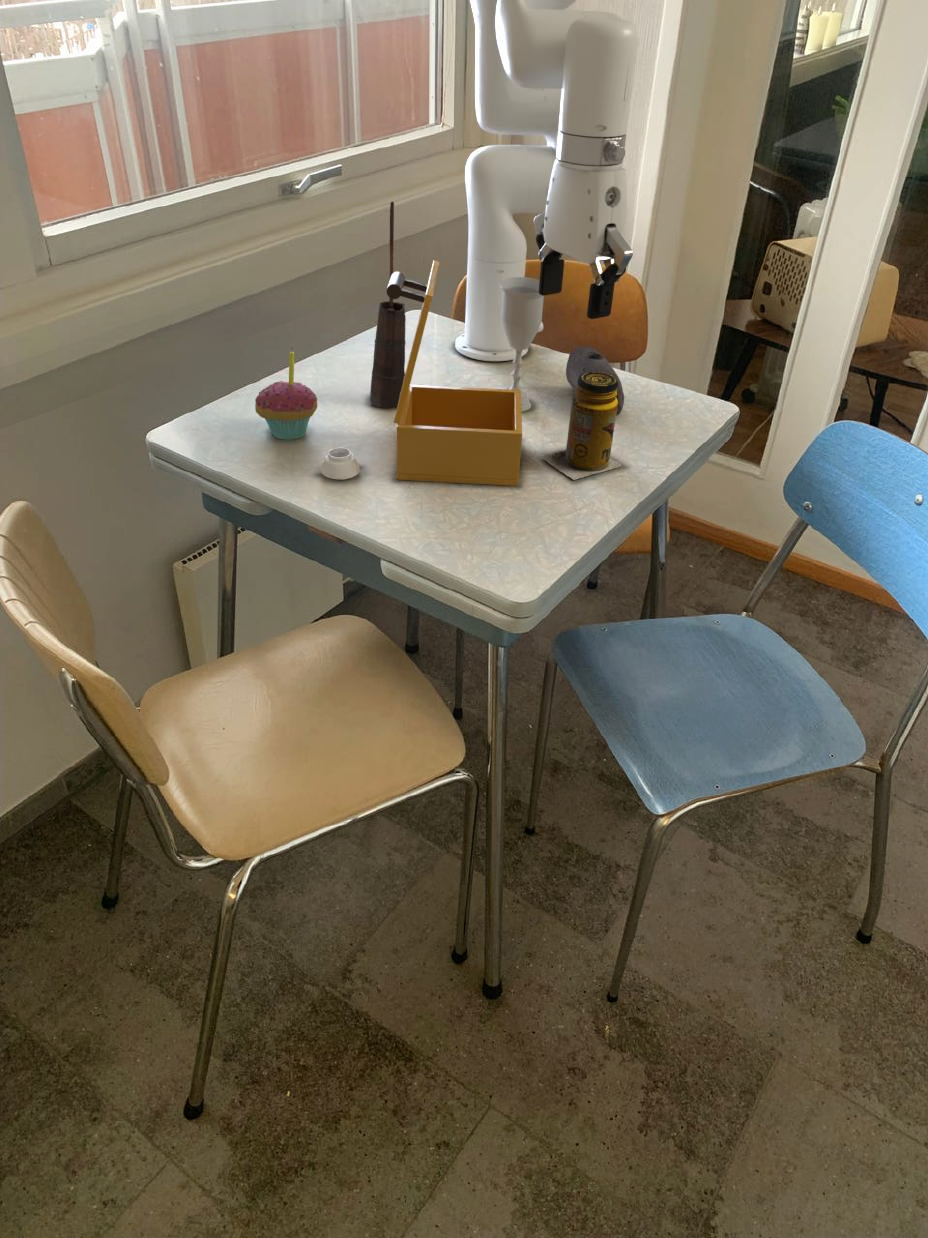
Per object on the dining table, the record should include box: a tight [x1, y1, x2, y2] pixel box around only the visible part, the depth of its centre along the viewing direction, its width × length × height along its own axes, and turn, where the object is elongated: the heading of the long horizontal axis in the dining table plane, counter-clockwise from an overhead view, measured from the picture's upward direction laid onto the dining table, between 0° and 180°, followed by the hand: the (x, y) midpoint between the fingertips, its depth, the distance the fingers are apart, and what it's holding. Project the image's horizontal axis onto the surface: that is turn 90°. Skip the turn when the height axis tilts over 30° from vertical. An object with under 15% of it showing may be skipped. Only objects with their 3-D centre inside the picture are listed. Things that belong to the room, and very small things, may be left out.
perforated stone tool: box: [565, 346, 625, 417], centre depth 139 cm, size 15×5×7 cm, turn 18°
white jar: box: [320, 447, 361, 481], centre depth 119 cm, size 5×3×5 cm
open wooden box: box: [396, 383, 523, 487], centre depth 123 cm, size 16×14×7 cm
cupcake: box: [254, 345, 318, 441], centre depth 125 cm, size 9×8×12 cm
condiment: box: [540, 372, 623, 481], centre depth 122 cm, size 7×8×12 cm
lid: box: [386, 259, 441, 425], centre depth 115 cm, size 17×14×5 cm
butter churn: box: [369, 201, 407, 409], centre depth 130 cm, size 9×10×28 cm
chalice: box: [500, 276, 545, 412], centre depth 134 cm, size 7×7×18 cm
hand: (573, 304), depth 112 cm, fingers open, 9 cm apart
